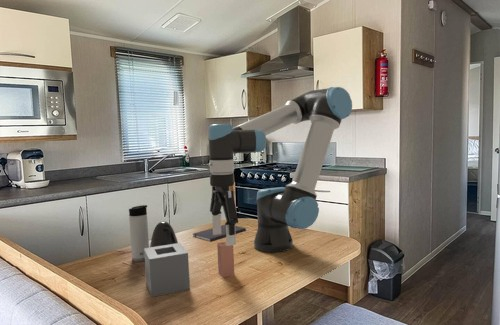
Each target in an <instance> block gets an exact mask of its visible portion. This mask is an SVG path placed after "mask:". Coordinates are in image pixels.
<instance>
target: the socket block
mask: <svg viewBox="0 0 500 325" xmlns="http://www.w3.org/2000/svg"><path fill="white" fill-rule="evenodd" d="M144 255H145V261H144V267H145V282H146V286H147V289H148V292H149V294H150V296H151V298H154V297H159V295H160V296H164V294H165V295H169V294H174V293H179V292H184V291H189V290H190V289H191V287H190V286H191V284H190V281H191V280H190V266H189V252H188V251H187V250H186V249H185V248H184V246H183V245H182V243H180V242H178V243H176V244H170V245H163V246H157V247H150V246H149V248H144Z"/></svg>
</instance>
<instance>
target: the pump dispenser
mask: <svg viewBox="0 0 500 325" xmlns="http://www.w3.org/2000/svg"><path fill="white" fill-rule="evenodd" d="M176 243H179V242H178V238H177V236H176V232H175V230H174V228H173V226H172V225H171V223H169V222H168V221H160V222H158V223H157V224H156V226H155V227H154V229H153V232H152V236H151V240H150V243H149V248H150V247H157V246H163V245H170V244H176Z"/></svg>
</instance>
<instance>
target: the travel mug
mask: <svg viewBox="0 0 500 325" xmlns="http://www.w3.org/2000/svg"><path fill="white" fill-rule="evenodd" d="M147 208H148V205H147V204H144V205H138V206H137V205H136V206H133V207H131V208H129V209H128V213H129V215H128V216H129V218H128V219H129V220H128V221H129V232H130V234H129V235H130V248H131V249H130V250H131V260H132V261H133V262H138V263H139V262H145V255H144V248H150V241H149V240H150V239H149V228H148V212H147V210H148V209H147Z"/></svg>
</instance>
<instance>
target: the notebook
mask: <svg viewBox="0 0 500 325" xmlns="http://www.w3.org/2000/svg"><path fill="white" fill-rule="evenodd" d="M246 229H247V228H246V227H241V226H237V225H235V233H236V234H238V233H242V232H245V231H246ZM192 235H193V238H197V239H201V240H204V241H208V242H213V241H215V240H216V241H217V240H219V239H222V238H226V225H225V224H221V234H218V235H213V227H211V228H208V229H205V230H201V231H198V232H193V233H192Z"/></svg>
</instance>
